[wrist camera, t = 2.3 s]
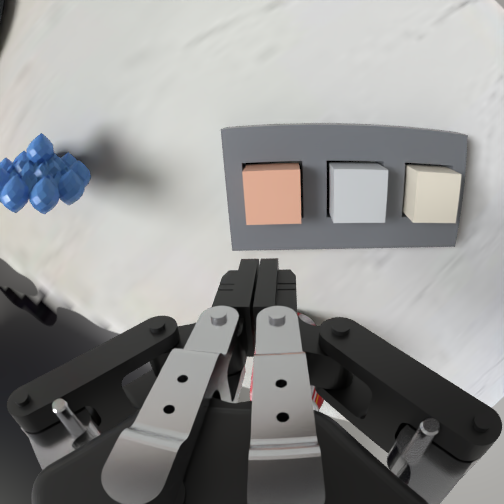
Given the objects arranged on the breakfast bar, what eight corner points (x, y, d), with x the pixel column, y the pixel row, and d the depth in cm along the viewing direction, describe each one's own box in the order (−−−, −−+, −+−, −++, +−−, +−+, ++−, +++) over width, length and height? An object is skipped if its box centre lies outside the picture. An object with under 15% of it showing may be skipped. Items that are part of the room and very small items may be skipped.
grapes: (122, 133, 28) (44, 156, 17) (113, 196, 31) (43, 244, 20) (40, 119, 28) (-39, 139, 17) (36, 175, 31) (-37, 210, 20)
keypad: (455, 132, 24) (467, 135, 22) (445, 236, 29) (455, 246, 27) (226, 127, 27) (220, 129, 25) (236, 239, 32) (232, 250, 30)
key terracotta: (298, 162, 26) (300, 169, 23) (299, 211, 28) (301, 223, 25) (246, 164, 27) (242, 171, 24) (250, 213, 29) (246, 225, 26)
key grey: (378, 163, 25) (388, 170, 23) (375, 211, 27) (385, 222, 25) (328, 162, 26) (333, 169, 23) (328, 211, 28) (333, 223, 25)
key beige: (446, 167, 25) (461, 174, 22) (441, 211, 26) (455, 223, 24) (405, 164, 25) (417, 171, 22) (401, 211, 27) (413, 222, 24)
